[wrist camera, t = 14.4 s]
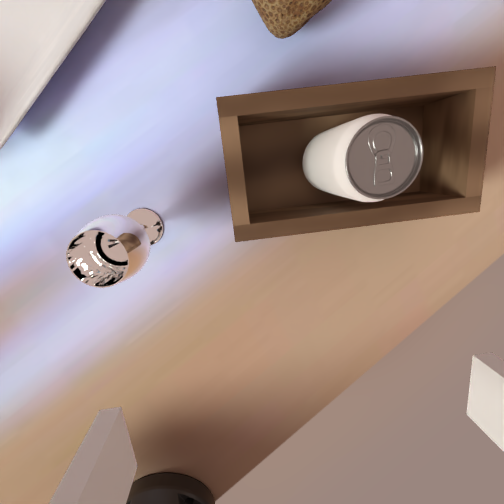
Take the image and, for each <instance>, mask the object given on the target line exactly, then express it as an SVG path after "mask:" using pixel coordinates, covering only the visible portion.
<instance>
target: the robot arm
mask: <svg viewBox="0 0 504 504" xmlns="http://www.w3.org/2000/svg"><path fill="white" fill-rule="evenodd" d="M467 415H468V416H469V417H470V418H471V419H472V420H473V421H474V422H475V423H476V424H477V425H478V426H479V427H480V428H481V429H482V430H483V431H484V432H485V433H486V434H487V435H488V436H489V437H490V438H491V439H492V440H493V441H494V442H495V443H496V445H498V447H499V448H500V449H502V451H504V360H503V359H501V358H500V357H498V356H497V355H496V354H494V353H493V352H491V353H483V354H477V355H473V359H472V368H471V377H470V386H469V396H468V406H467ZM137 466H138V465H137V462H136V458H135V454H134V451H133V447H132V444H131V440H130V436H129V433H128V429H127V426H126V422H125V418H124V415H123V411H122V408H121V407H117V408H111V409H104V410H99V412H98V414H97V416H96V418H95V419H94V421H93V423H92V425H91V427H90V429H89V430H88V432H87V434H86V436H85V438H84V440H83V441H82V443H81V445H80V447H79V449H78V451H77V453H76V454H75V456H74V458H73V460H72V462H71V464H70V465H69V467H68V469H67V471H66V473H65V475H64V476H63V478H62V480H61V482H60V484H59V486H58V488H57V489H56V491H55V493H54V495H53V497H52V499H51V500H50V502H49V504H215V501H214V498H213V496H212V494H211V492H210V491H209V490H208V488H207V487H206V486H205V485H203V484H202V483H201V482H199V481H197V480H195V479H193V478H191V477H188V476H185V475H181V474H174V473H161V474H154V475H150V476H146V477H144V478H141V479H139V480H137V481H135V482H134V483H133V479H134V476H135V473H136V470H137Z"/></svg>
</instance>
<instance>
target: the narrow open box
mask: <svg viewBox="0 0 504 504" xmlns="http://www.w3.org/2000/svg"><path fill="white" fill-rule="evenodd" d="M495 72H496V66H494V67H485V68H476V69H467V70H458V71H449V72H440V73H431V74H422V75H413V76H404V77H395V78H386V79H377V80H368V81H359V82H350V83H341V84H332V85H323V86H314V87H305V88H296V89H287V90H278V91H269V92H260V93H251V94H242V95H233V96H224V97H216V100H217V108H218V115H219V123H220V130H221V138H222V145H223V153H224V160H225V168H226V175H227V183H228V190H229V198H230V205H231V213H232V220H233V228H234V235H235V242H240V241H248V240H256V239H264V238H272V237H280V236H288V235H296V234H304V233H312V232H320V231H329V230H337V229H345V228H353V227H361V226H369V225H377V224H385V223H393V222H401V221H409V220H417V219H425V218H433V217H441V216H449V215H457V214H465V213H473V212H480V204H481V195H482V187H483V178H484V169H485V160H486V151H487V143H488V134H489V125H490V116H491V107H492V99H493V90H494V81H495ZM370 114H388V115H391V116H396V117H400V118H402V119H405V120H406V121H408V122H409V123H411V124H412V125H413V126H414V127H415V128H416V130H417V131H418V133H419V135H420V137H421V140H422V144H423V161H422V165H421V168H420V171H419V173H418V175H417V177H416V178H415V180H414V181H413V182H412V184H411V185H410V186H409V187H408V188H407V189H406V190H404V191H403V192H401V193H400V194H398V195H396V196H394V197H391V198H387V199H384V200H381V201H377V202H361V201H357V200H353V199H349V198H345V197H342V196H338V195H334V194H331V193H328V192H324V191H321V190H319V189H317V188H315V187H314V186H312V185H311V184H310V183H309V181H308V180H307V178H306V177H305V174H304V171H303V165H302V161H303V155H304V151H305V149H306V147H307V145H308V144H309V142H310V141H311V140H312V139H313V138H314V137H315V136H316V135H318V134H320V133H322V132H324V131H326V130H329V129H331V128H334V127H336V126H339V125H341V124H344V123H347V122H349V121H352V120H355V119H357V118H360V117H363V116H366V115H370Z"/></svg>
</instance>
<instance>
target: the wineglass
mask: <svg viewBox="0 0 504 504" xmlns="http://www.w3.org/2000/svg"><path fill="white" fill-rule="evenodd" d="M162 234H163V224H162V221H161V219H160V218H159V216H158V215H157V214H156V213H154V212H153V211H151V210H149V209H143V208H139V209H135V210H133V211H131V212H130V213H129V214H128V215H127V216H123V215H118V214H111V215H104V216H101V217H98V218H96V219H94V220H92V221H90V222H89V223H87V224H86V225H85V226H84V227H82V228H81V229H80V230H79V231H78V232H77V234H76V235H75V236H74V237H73V239H72V240H71V241H70V243H69V245H68V247H67V252H66V259H67V263H68V266H69V268H70V270H71V272H72V273H73V274H74V275H75V276H76V277H77V278H78V279H79V280H80V281H82V282H83V283H85V284H87V285H90V286H94V287H99V288H104V287H110V286H113V285H115V284H118V283H121V282H123V281H125V280H127V279H129V278H131V277H132V276H134V275H135V274H137V273H138V272H139V271H140V270H141V269H142V268H143V266H144V265H145V264H146V262H147V260H148V257H149V254H150V245H153V244H155V243H157V242H158V241H159V240H160V238H161V237H162Z"/></svg>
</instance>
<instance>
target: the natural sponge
mask: <svg viewBox="0 0 504 504" xmlns="http://www.w3.org/2000/svg"><path fill="white" fill-rule="evenodd" d="M331 1H332V0H252V2H253V4H254V5H255V7H256V9H257V11H258V13H259V15H260V16H261V18H262V20H263V22H264V23H265V25H266V27H267V28H268V30H269V31H270V32H271V33H272V34H273V35H274V36H275V37H277V38H281V39H283V38H286V37H289V36H291V35H293V34H294V33H296V32H297V31H298V30H300V29H301V28H302V27H303V26H304V25H305V24H306V23H307V22H308V21H309V20H310V19H311V18H312V17H313V16H314V15H315V14H317V13H318V12H319V11H320V10H322V9H323V8H324V7H326V5H328V4H329V3H330V2H331Z"/></svg>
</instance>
